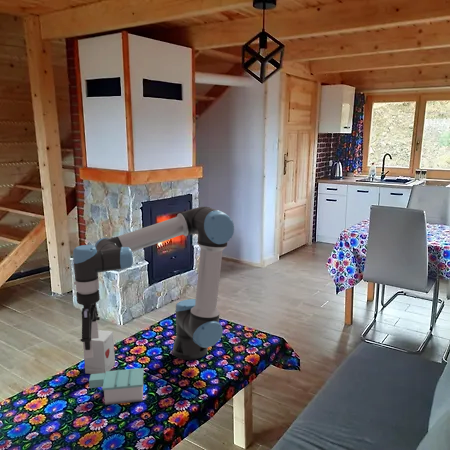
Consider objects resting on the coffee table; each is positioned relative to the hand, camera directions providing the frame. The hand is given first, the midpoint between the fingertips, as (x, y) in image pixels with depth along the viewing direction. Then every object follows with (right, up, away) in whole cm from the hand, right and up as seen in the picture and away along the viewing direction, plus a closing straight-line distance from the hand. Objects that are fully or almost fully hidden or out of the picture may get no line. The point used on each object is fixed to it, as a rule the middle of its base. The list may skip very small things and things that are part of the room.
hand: (92, 347), depth 149 cm
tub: (+10, -19, +6) cm, 22 cm away
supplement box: (-4, -15, +23) cm, 28 cm away
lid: (+8, -14, +4) cm, 17 cm away
